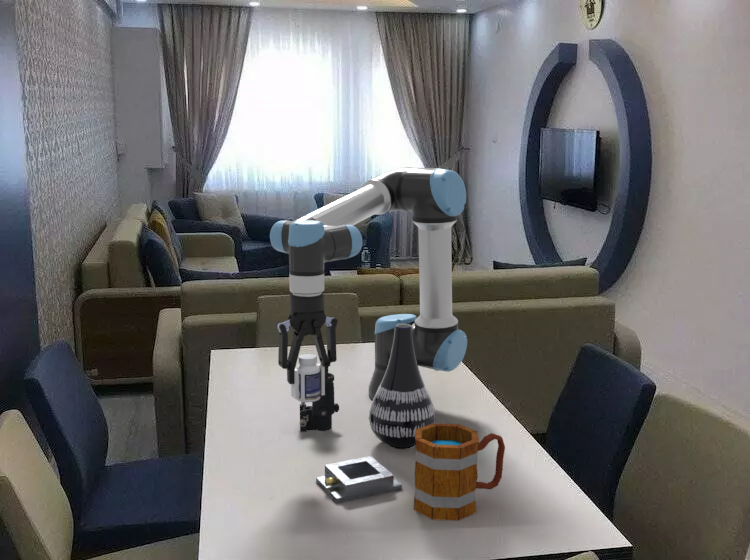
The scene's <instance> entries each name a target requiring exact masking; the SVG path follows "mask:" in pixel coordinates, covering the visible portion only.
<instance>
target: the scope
mask: <svg viewBox="0 0 750 560" xmlns="http://www.w3.org/2000/svg"><path fill="white" fill-rule="evenodd" d="M334 382H335V375H334V374H333V373H332V372H328V379H325V395H321V394H320V399H319V400H317V401H315V402H311V405H307V404H306V402H300V404H299V432H300V433H303V432H304V433H306V432H308V431H320V432H326V431H327V432H328V431H331V430H332V428H333V426H332V425H333V423H332V422H333V418H332V416H333V415H334V414H335V413H338V412H339V411H340V405H339V404H338V403H335V383H334Z"/></svg>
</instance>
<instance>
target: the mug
mask: <svg viewBox="0 0 750 560" xmlns="http://www.w3.org/2000/svg"><path fill="white" fill-rule="evenodd" d="M494 440H496V441H497V446H498V447H497V450H496V455H495V472H494V476H493V478H492V480H491V481H489V482H484V481H478V478H479V476H478V452H479V451H483V450H484V449H485V448H486V447H488V444H489V443H490V442H492V441H494ZM415 443H416V445H415V451H416V452H415V462H414V463H415V464H414V483H415V485H414V486H415V490H414V498H413V511H415V512H417V513H418V514H420V515H422V516H425V517H426V518H428V519H430V520H432V521H433V520H435V521H436V520H439V521H458V522H460V521H461V520H464V519H465V518H468V517H469V516H472V515H474V514H476V513H477V505H476V502H477V501H476V497H477V496H476V495H477V494H476V493H477V491H476V490H477V489H480V490H481V489H482V490H491V491H492V489H495V488H496V487H499V484H500V482H501V480H502V478H503V470H504V469H503V467H504V456H505V450H506V447H505V443H504V439H503V437H502V436H501V435H499V434H496V433H493V432H490V433H489V434H485V436H484V437H482V438H481V440H480V438H479V432H478V430H475V429H473V428H470V427H467V426H465V425H462V424H459V423H437V422H435V423H433V424H430V425H427V426H424V427H421V428H418V429H416V432H415Z"/></svg>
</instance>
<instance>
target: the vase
mask: <svg viewBox="0 0 750 560" xmlns="http://www.w3.org/2000/svg"><path fill="white" fill-rule="evenodd" d="M424 382H425V381H424V380H423V378H422V375H421V371H420V369H419V366H418V365H417V360H416V356H415V350H414V344H413V336H412V326H411V325H410V324H397V325H395V332H394V340H393V345H392V350H391V355H390V359H389V363H388V366H387V370H386V372H385V375H384V377H383V380H382V382H381V384H380V386H379V388H378V390H377V392H376V394H375V396H374V398H373V399H372V401H371V404H370V407H369V411H368V412H369V413H368V422H369V426H370V429H371V430H372V433H373V434H374V436H376V438H377V439H378V440H380V441H381V442H383V443H384V444H386V445H388V446H389V447H391V448H392V449H396V450H407V449H411V448H413V447H416V443H415V432H416V429H418V428H421V427H424V426H427V425H430V424H433V423H436V412H435V407H434V403H433V400H432V398H431V395H430V393H429V391H428V390H427V387H426V385H425V383H424Z"/></svg>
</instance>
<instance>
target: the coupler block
mask: <svg viewBox="0 0 750 560" xmlns="http://www.w3.org/2000/svg"><path fill="white" fill-rule="evenodd" d="M315 482H316V483H317V485H319V487H321V489H322V490H323V491H324V492H325V493H327V495H329V497H330V498H331V499H332V500H333V501H334V502H335V503H336V504H340V503H344V502H348V501H353V500H358V499H362V498H366V497H371V496H376V495H380V494H385V493H389V492H395V491H398V490H399V491H400V490H402V489H403V484H402V483H401V482H400V481H398V480H397V479H396V478H395V477H394V474H393V473H392V472H390V471H389V470H388V469H387V468H386V467H385V466H383V465H382V464H381V463H380V462H378V460H376V459H375V458H374V457H373V456H371V455H369V456H363V457H359V458H358V457H357V458H353V459H349V460H348V459H347V460H343V461H338V462H334V463H333V462H332V463H327V464H324V475H321V476H317V477H316V478H315Z"/></svg>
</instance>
